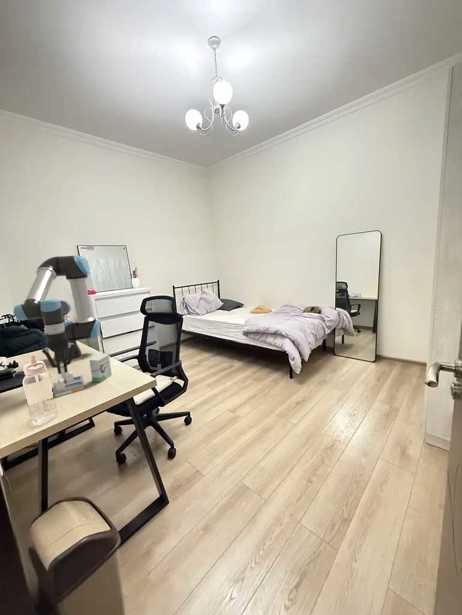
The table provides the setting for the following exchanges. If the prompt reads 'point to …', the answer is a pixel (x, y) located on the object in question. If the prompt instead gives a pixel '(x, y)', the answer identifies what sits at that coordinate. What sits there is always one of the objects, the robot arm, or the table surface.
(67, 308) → the robot arm
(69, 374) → the tab
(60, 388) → the tab
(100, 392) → the table surface
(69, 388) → the switch bank
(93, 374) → the ink box
